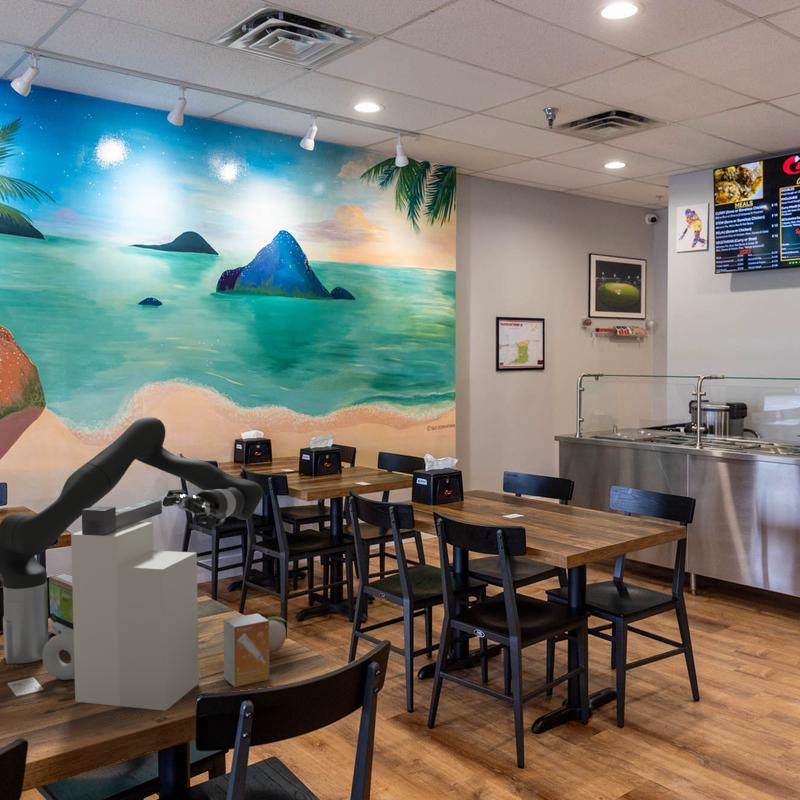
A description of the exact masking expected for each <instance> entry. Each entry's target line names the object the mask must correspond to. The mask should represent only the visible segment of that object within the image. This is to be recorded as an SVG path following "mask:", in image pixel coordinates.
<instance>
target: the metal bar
mask: <svg viewBox="0 0 800 800" xmlns="http://www.w3.org/2000/svg"><path fill="white" fill-rule="evenodd" d="M162 502H163V500H162V499H147V500H144V501H141V502H138V503H135V504H132V505H129V506H125V507H122V508H120V509H116V508H117V507H116V506H98V505H96V506H94V505H93V506H92V507H89V508H86V509H83V510H82V515H81V531H82V535H96V536H106V535H109V534H111V533H114V532H116V530H117V529H120V528H123V527H126V526H128V525H131V524H134V523H137V522H143V521H144V520H148V519H150V518H152V517H156V516H159V515H161V514H163V505H162V504H163V503H162Z"/></svg>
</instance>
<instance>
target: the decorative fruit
mask: <svg viewBox="0 0 800 800" xmlns="http://www.w3.org/2000/svg"><path fill="white" fill-rule="evenodd" d="M265 618H266V619H267V620H269V656H270V655H273V654H275V653H276V652H278V651H279V650H280V649H281V648H282V647H283V645H284V644H285V641H286V639H287V631H286V627H285V624H284V623H287V621H286V620H285V618H283V617H281V616H274V615H273V616H270V617H268V613H265ZM283 622H284V623H283Z"/></svg>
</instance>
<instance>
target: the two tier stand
mask: <svg viewBox="0 0 800 800" xmlns="http://www.w3.org/2000/svg"><path fill="white" fill-rule="evenodd" d="M70 541H71V543H70V545H71V572H72V589H73V627H74V666H75V678H74V694H75V696H74V697H75V698H74V699H75V703H85V704H86V703H87V704H95V705H105V706H115V707H125V708H133V709H134V708H135V709H146V710H154V711H155V710H157V711H165V712H166V711H167V710H169V709H170V708H172V706H173V705H174V704H176V703H177V702H178V701H180V699H182V698H183V697H184V696H186V695H187V694H188V693H189V692H190V691H191V690H193V689H194V688H195V687H196V686H198V684H200V671H199V670H200V667H199V665H200V663H199V662H200V661H199V659H200V658H199V654H200V653H199V619H198V618H199V617H198V616H199V613H198V611H199V610H198V609H199V607H198V606H199V604H198V601H199V599H198V563H197V562H198V558H197V557H198V553H197V552H192V551H191V552H190V551H189V552H188V551H171V550H170V551H167V550H155V546H154V522H151V521H150V522H147V521H139V522H137V523H134V524H131V525H128V526H126V527H123V528H120V529H117V530H116V532H114V533H111V534H109V535H106V536H96V535H82V530H80V531H77V532H75V533H71V534H70Z"/></svg>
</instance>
